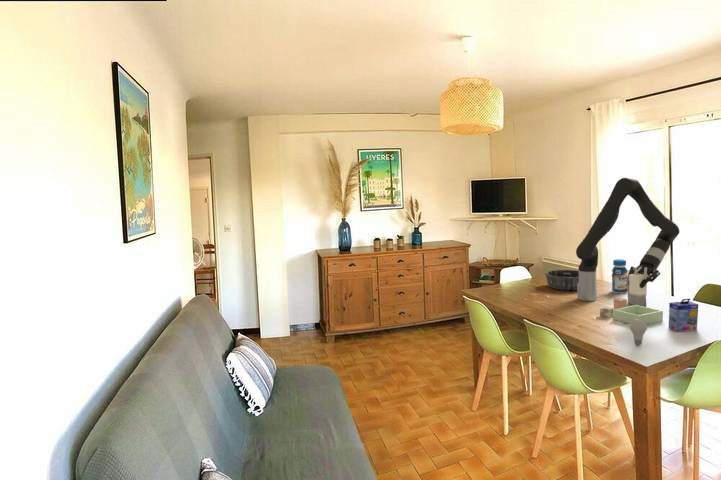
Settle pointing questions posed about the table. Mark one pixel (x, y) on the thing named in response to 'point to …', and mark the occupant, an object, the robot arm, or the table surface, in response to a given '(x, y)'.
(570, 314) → the table surface
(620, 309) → the tub
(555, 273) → the bundt pan
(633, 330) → the lightbulb
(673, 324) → the ink cartridge box
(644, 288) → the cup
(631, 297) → the skincare box
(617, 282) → the beverage bottle
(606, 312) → the beech block
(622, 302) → the reddish brown block
